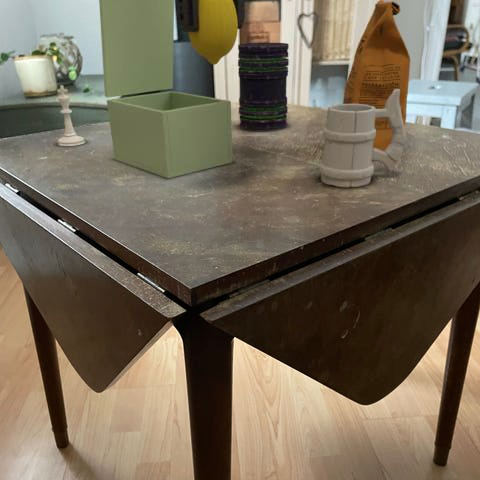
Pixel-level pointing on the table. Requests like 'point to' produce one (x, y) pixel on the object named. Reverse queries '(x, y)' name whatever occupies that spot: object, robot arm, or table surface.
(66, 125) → the chess piece
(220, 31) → the lemon
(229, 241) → the table surface
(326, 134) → the mug
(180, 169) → the box
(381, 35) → the coffee package
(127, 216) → the table surface
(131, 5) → the lid
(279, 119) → the storage jar
